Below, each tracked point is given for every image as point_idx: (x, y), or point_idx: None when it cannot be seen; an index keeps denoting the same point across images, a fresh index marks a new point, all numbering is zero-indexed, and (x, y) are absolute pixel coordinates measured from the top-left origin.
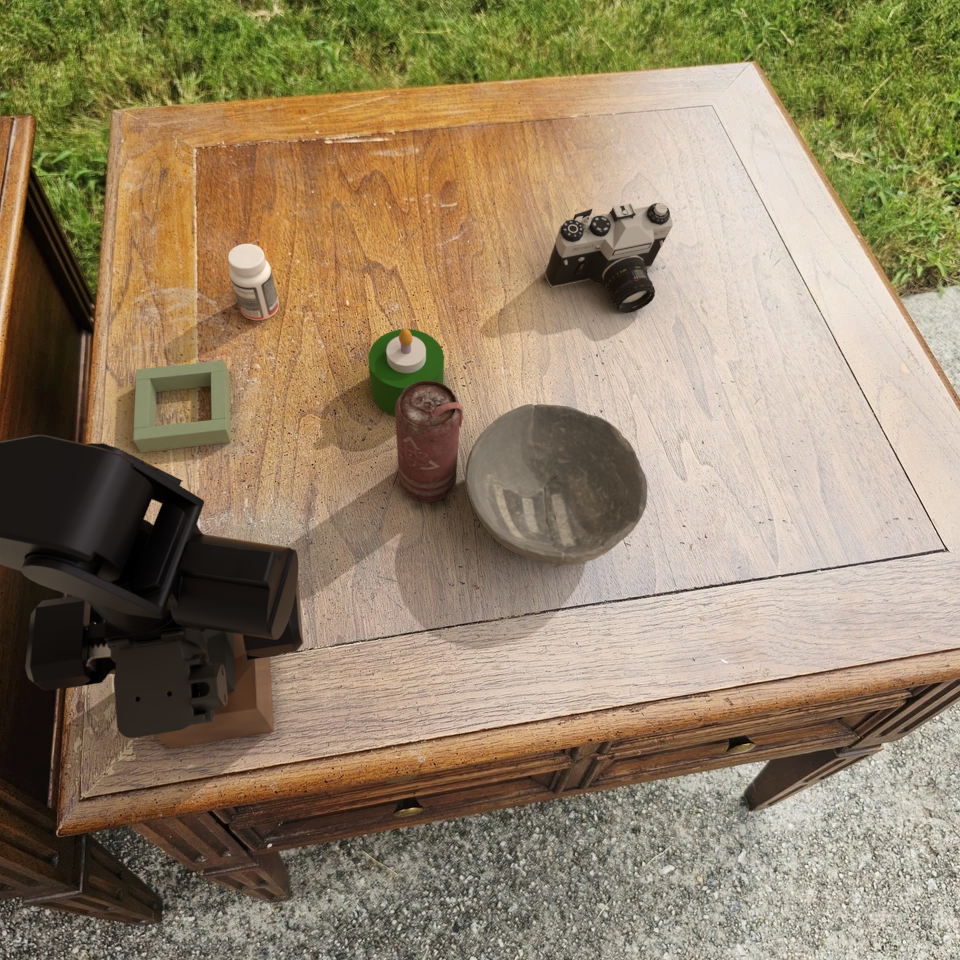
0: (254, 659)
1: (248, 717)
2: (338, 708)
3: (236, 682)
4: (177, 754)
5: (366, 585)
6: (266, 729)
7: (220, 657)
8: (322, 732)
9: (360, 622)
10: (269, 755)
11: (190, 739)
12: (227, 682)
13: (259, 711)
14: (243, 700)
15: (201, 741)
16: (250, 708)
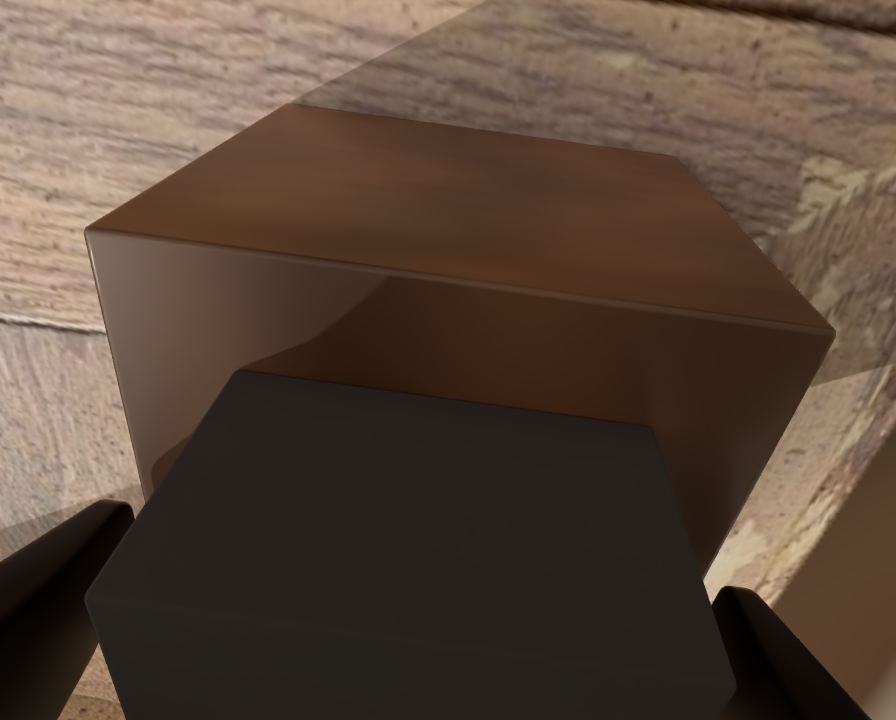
0: (141, 482)
1: (245, 184)
2: (45, 118)
3: None
4: (655, 126)
5: (20, 458)
6: (292, 115)
7: (154, 714)
8: (95, 38)
9: (18, 372)
10: (306, 4)
11: (589, 166)
12: (153, 506)
13: (133, 199)
14: (181, 301)
15: (553, 147)
16: (128, 239)
